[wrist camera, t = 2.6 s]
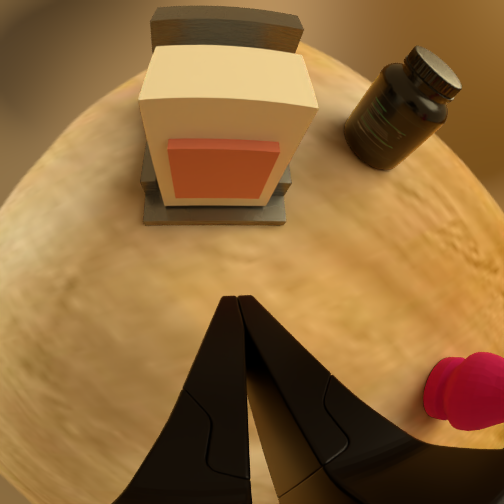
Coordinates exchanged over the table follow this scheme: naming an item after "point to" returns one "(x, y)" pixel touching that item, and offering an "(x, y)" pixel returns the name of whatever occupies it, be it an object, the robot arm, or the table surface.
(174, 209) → the press stand
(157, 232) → the table surface
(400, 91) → the supplement bottle
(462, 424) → the pepper mill
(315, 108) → the cream block orange label
